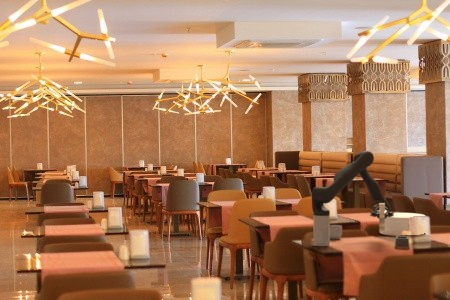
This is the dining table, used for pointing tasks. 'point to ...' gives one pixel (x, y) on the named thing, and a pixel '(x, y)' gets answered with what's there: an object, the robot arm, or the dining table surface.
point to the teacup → (335, 231)
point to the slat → (382, 217)
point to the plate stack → (397, 223)
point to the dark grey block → (402, 242)
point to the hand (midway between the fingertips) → (382, 215)
